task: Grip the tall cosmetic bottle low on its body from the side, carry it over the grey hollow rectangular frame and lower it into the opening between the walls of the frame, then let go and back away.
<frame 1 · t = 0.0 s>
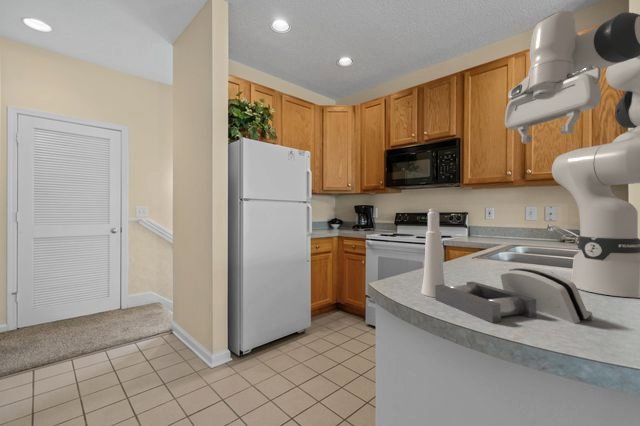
hand: (545, 138, 72), 39 cm above the counter, tool pointing down, fingers open, 8 cm apart
cosmetic bottle: (433, 295, 77), on the counter
grey curved wedge: (539, 310, 65), on the counter
grey hollow rectangular frame: (481, 307, 66), on the counter
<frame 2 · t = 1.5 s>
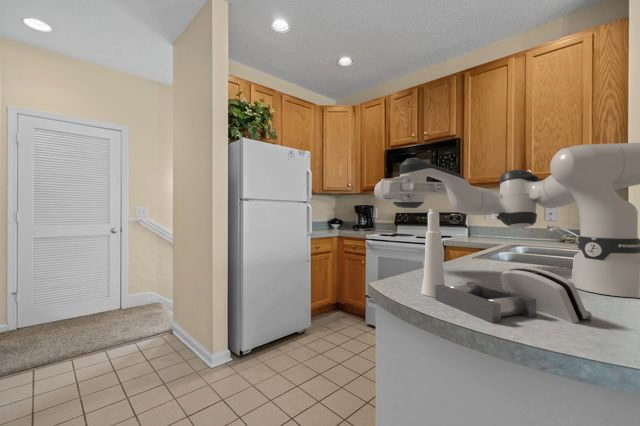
hand: (429, 186, 88), 29 cm above the counter, tool horizontal, fingers open, 8 cm apart
nothing on the counter moved.
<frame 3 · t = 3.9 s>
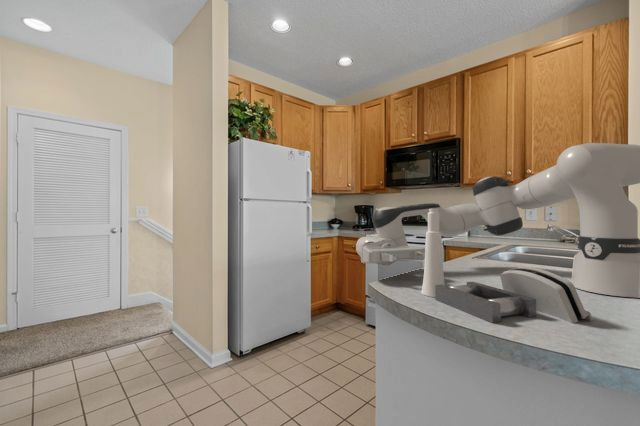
hand: (408, 257, 86), 8 cm above the counter, tool horizontal, fingers open, 8 cm apart
nothing on the counter moved.
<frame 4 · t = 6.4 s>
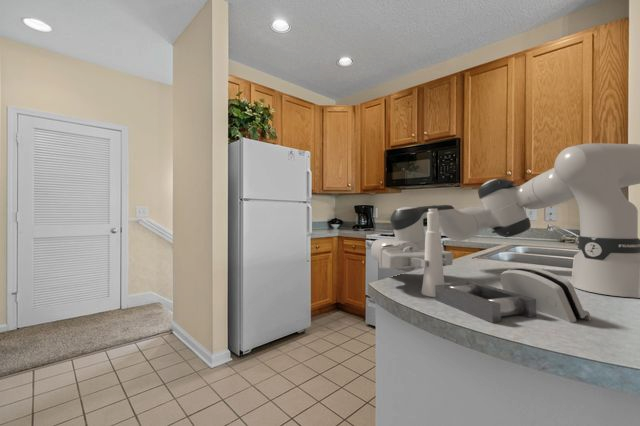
hand: (436, 263, 76), 8 cm above the counter, tool horizontal, fingers closed on cosmetic bottle, 4 cm apart
cosmetic bottle: (433, 295, 77), on the counter, touching gripper
everything else where it was.
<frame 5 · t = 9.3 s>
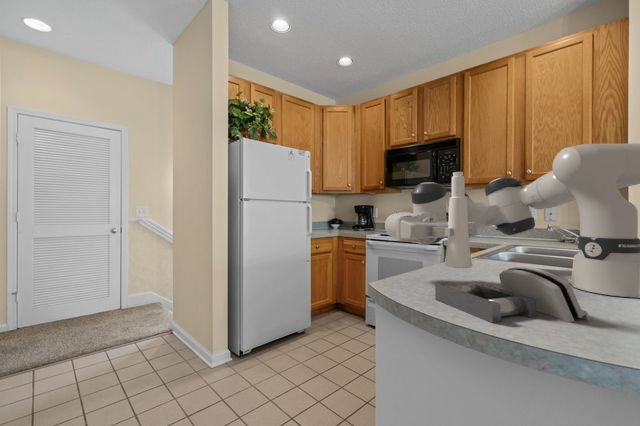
hand: (461, 231, 69), 17 cm above the counter, tool horizontal, fingers closed on cosmetic bottle, 4 cm apart
cosmetic bottle: (458, 266, 70), point 8 cm above the counter, touching gripper
everything else where it was.
when the fingers open (9 cm above the counter, at t = 12.4 s): cosmetic bottle drops 1 cm, resting in grey hollow rectangular frame.
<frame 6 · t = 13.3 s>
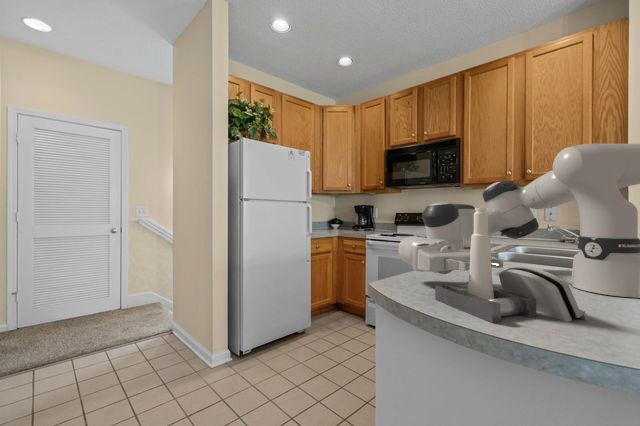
hand: (484, 265, 65), 9 cm above the counter, tool horizontal, fingers open, 8 cm apart
cosmetic bottle: (480, 307, 66), resting in grey hollow rectangular frame
everything else where it was.
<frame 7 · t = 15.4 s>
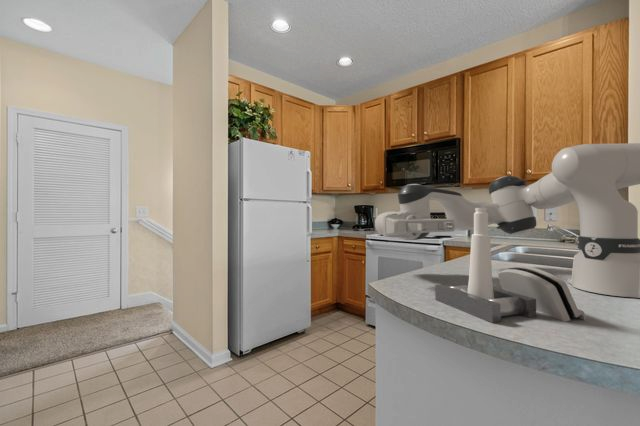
hand: (438, 226, 78), 17 cm above the counter, tool horizontal, fingers open, 8 cm apart
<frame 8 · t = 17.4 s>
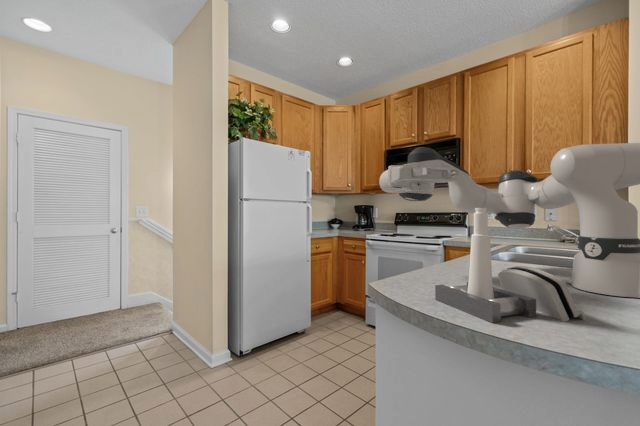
hand: (443, 171, 80), 32 cm above the counter, tool horizontal, fingers open, 8 cm apart
at the end: cosmetic bottle 0.2 cm off-centre on the grey hollow rectangular frame, point 0.0 cm above the grey hollow rectangular frame's base; cosmetic bottle tilted 0°; the gripper is holding nothing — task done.
